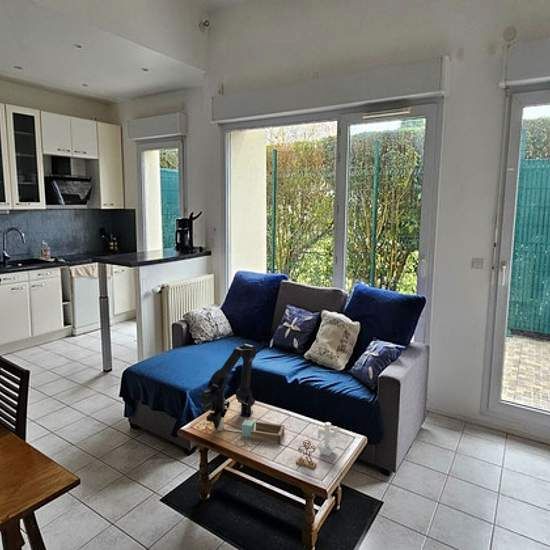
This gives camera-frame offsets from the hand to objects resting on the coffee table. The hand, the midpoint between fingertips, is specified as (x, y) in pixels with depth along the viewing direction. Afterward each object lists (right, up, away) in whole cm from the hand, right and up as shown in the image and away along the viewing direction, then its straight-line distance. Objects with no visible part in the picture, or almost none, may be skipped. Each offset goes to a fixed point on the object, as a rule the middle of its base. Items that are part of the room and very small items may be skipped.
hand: (218, 426), depth 218 cm
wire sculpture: (+44, -8, -28) cm, 52 cm away
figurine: (+54, -6, -18) cm, 57 cm away
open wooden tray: (+26, -3, -6) cm, 27 cm away
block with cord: (+9, -2, -2) cm, 9 cm away
